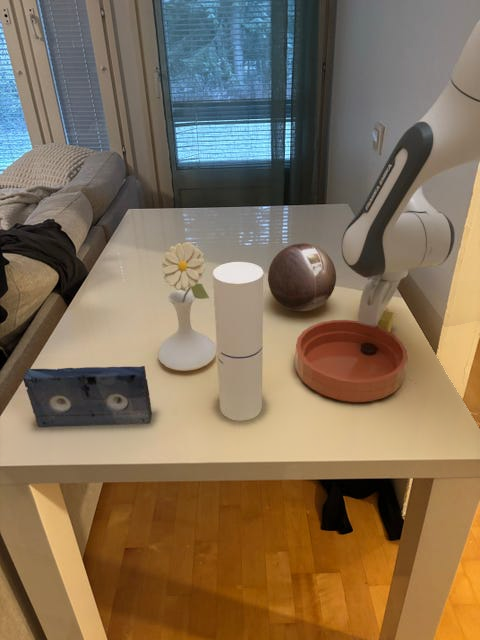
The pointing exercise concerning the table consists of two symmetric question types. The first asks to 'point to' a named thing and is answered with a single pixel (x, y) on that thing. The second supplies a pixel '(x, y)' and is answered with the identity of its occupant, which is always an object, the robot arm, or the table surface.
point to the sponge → (386, 320)
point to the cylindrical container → (239, 338)
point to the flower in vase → (185, 310)
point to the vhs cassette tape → (89, 396)
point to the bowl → (350, 361)
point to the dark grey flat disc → (368, 349)
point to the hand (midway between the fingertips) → (375, 323)
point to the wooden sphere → (302, 277)
